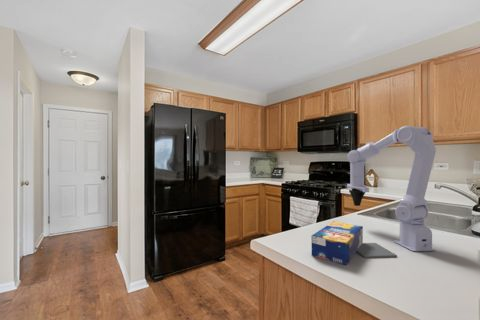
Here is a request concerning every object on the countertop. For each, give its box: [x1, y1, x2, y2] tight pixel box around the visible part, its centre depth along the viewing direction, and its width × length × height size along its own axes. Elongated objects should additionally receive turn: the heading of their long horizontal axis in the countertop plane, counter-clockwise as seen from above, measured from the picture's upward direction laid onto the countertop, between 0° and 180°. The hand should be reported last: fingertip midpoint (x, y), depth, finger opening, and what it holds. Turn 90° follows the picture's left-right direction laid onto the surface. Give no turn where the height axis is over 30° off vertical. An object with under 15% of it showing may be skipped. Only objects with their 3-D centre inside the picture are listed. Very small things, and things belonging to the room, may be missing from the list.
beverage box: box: [311, 221, 364, 266], centre depth 82 cm, size 7×11×22 cm
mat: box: [356, 242, 398, 259], centre depth 80 cm, size 11×11×1 cm
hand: (357, 205), depth 106 cm, fingers closed
